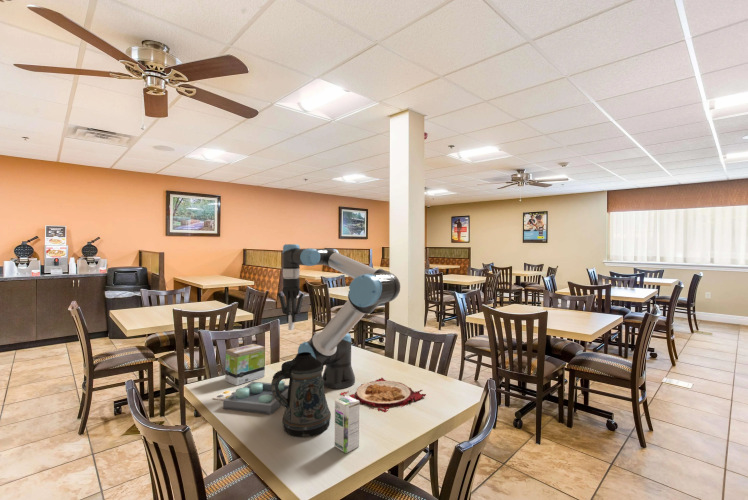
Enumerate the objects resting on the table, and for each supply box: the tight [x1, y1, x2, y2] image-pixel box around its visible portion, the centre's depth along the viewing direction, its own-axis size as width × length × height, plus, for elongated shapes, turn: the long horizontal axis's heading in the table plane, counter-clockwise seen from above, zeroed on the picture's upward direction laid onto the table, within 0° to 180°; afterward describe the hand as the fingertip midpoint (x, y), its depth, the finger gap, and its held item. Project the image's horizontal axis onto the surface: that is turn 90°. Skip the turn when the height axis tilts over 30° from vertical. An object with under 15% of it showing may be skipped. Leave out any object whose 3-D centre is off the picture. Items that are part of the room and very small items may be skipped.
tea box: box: [224, 343, 266, 387], centre depth 169 cm, size 15×10×15 cm
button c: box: [250, 383, 263, 394], centre depth 151 cm, size 5×5×2 cm
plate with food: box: [340, 377, 427, 414], centre depth 149 cm, size 25×26×4 cm
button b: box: [259, 395, 272, 403], centre depth 138 cm, size 5×5×2 cm
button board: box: [222, 381, 289, 415], centre depth 145 cm, size 20×20×3 cm
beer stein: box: [270, 352, 332, 438], centre depth 123 cm, size 16×19×25 cm
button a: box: [278, 380, 285, 391], centre depth 148 cm, size 5×5×2 cm
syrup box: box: [333, 395, 360, 454], centre depth 111 cm, size 6×6×14 cm
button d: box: [235, 387, 249, 399], centre depth 141 cm, size 5×5×2 cm
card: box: [212, 389, 236, 401], centre depth 149 cm, size 8×8×1 cm
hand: (291, 329), depth 164 cm, fingers closed
